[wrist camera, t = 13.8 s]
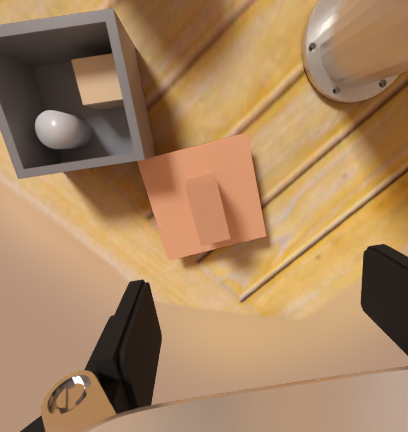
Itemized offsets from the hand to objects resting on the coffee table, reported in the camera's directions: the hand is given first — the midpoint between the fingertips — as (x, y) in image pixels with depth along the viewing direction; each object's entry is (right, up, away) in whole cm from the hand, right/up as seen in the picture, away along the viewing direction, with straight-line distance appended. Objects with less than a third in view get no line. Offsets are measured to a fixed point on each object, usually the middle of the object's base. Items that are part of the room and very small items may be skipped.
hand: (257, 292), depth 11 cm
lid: (-2, +5, +19) cm, 20 cm away
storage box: (-15, +16, +18) cm, 29 cm away
